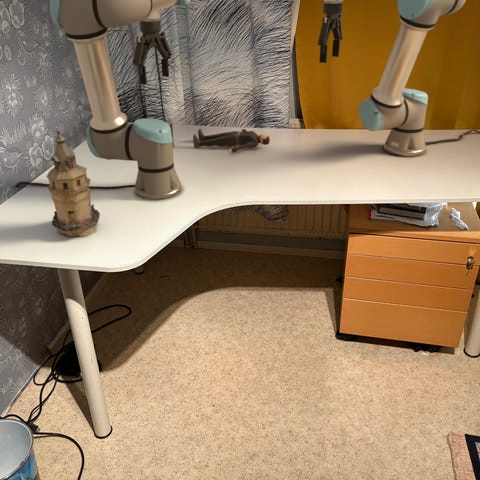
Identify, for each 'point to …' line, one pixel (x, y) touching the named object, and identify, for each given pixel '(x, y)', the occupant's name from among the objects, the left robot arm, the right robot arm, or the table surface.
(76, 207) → the miniature building
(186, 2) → the left robot arm
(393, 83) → the right robot arm
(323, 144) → the table surface
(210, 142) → the toy
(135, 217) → the table surface
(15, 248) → the table surface
